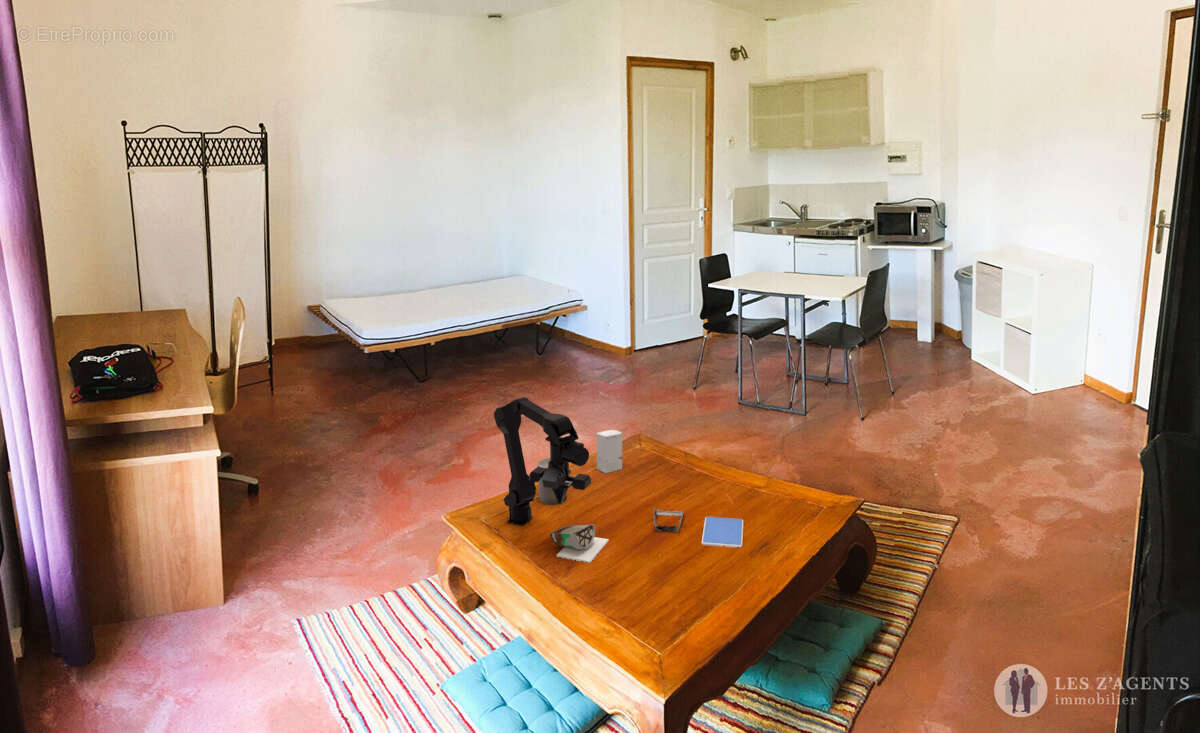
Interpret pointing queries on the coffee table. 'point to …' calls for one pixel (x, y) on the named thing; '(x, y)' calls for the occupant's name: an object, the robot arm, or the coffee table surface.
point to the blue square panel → (723, 532)
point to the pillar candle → (547, 493)
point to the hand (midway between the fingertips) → (560, 503)
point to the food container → (574, 536)
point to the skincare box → (609, 451)
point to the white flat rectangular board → (584, 551)
